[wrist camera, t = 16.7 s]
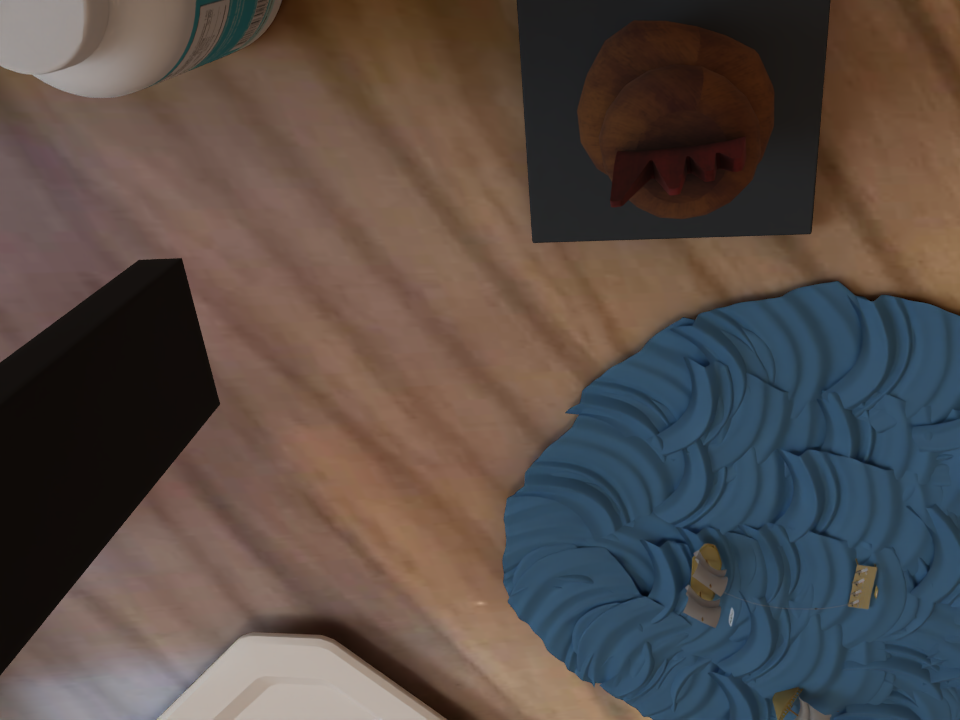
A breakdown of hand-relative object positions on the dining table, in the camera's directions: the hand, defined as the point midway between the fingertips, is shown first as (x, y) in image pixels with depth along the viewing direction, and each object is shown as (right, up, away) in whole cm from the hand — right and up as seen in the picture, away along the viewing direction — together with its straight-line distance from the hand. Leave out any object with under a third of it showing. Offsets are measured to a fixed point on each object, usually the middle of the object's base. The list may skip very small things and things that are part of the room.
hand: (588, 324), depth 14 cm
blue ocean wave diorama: (+14, -10, +33) cm, 37 cm away
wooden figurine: (+6, +11, +23) cm, 26 cm away
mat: (+6, +11, +23) cm, 27 cm away
